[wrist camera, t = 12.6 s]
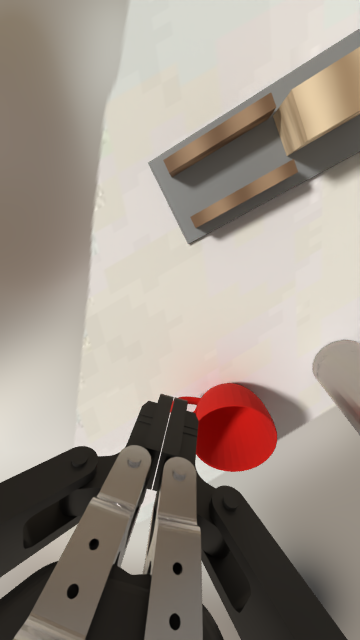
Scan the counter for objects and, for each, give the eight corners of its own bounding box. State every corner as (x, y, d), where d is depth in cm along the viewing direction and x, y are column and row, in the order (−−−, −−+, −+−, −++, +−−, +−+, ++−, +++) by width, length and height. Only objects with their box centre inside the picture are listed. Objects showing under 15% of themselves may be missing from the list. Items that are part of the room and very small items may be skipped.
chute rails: (263, 105, 33) (271, 91, 29) (288, 176, 35) (298, 172, 32) (166, 165, 36) (163, 160, 32) (195, 227, 38) (195, 228, 35)
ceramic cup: (186, 351, 46) (183, 384, 36) (274, 382, 47) (293, 421, 37) (163, 407, 50) (155, 449, 41) (244, 434, 51) (254, 481, 42)
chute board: (356, 31, 30) (359, 28, 30) (382, 139, 33) (384, 138, 33) (148, 163, 36) (148, 162, 36) (188, 243, 39) (188, 243, 39)
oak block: (353, 66, 31) (396, 23, 24) (365, 111, 32) (408, 82, 26) (272, 116, 33) (291, 89, 26) (286, 156, 34) (308, 140, 28)
